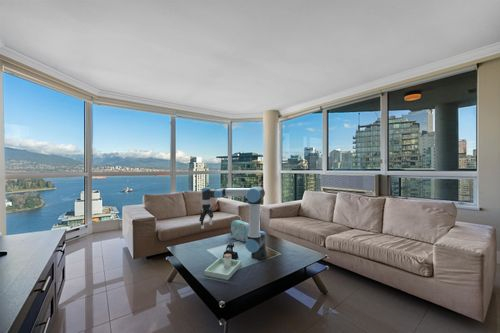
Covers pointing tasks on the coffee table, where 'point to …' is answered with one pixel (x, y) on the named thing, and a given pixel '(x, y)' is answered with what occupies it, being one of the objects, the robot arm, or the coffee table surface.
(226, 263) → the jar
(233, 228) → the lunch box
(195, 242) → the coffee table surface
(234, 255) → the sculpture
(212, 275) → the tote
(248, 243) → the robot arm
